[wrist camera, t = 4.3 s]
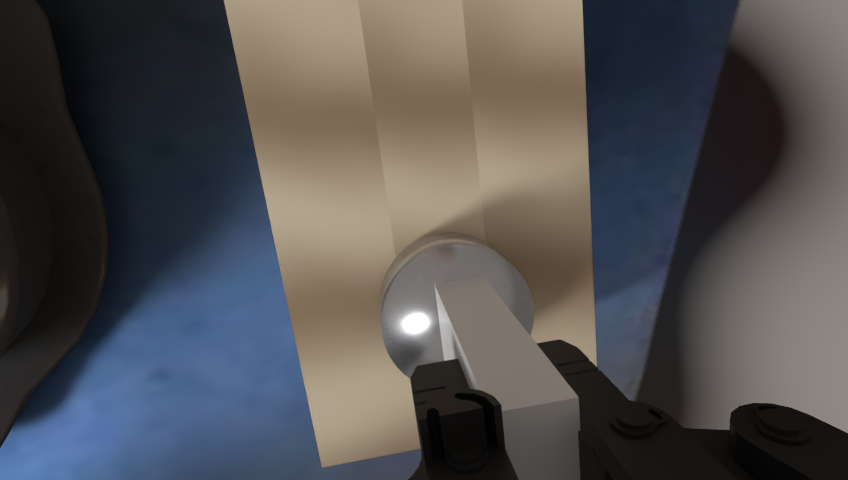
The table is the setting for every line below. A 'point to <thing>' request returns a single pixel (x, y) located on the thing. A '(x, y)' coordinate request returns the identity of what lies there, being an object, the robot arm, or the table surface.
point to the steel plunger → (416, 299)
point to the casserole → (42, 213)
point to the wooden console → (413, 175)
